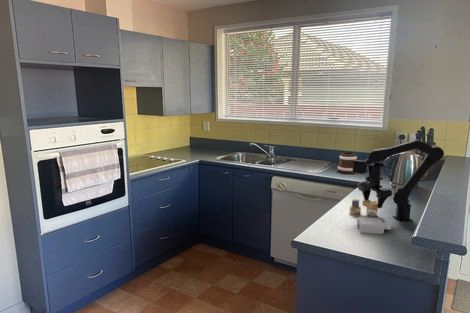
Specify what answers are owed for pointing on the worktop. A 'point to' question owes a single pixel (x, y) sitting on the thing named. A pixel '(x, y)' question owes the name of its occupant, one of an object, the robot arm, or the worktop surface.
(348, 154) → the brown layered cake
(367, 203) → the washer
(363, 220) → the white plastic bottle
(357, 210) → the small brown bottle
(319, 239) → the worktop surface
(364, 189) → the robot arm
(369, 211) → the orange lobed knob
